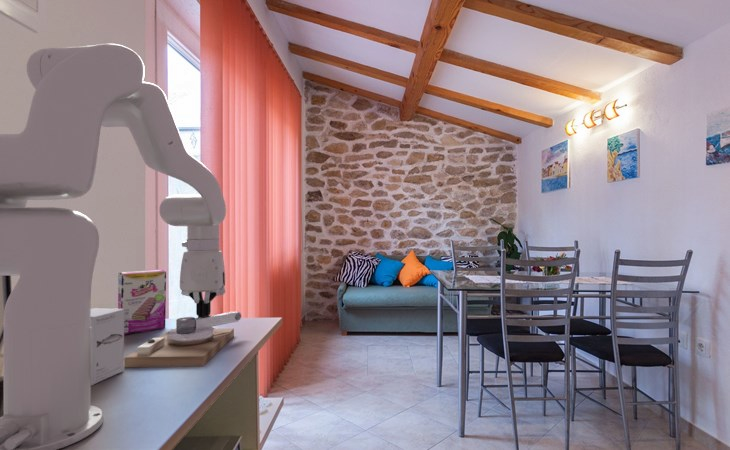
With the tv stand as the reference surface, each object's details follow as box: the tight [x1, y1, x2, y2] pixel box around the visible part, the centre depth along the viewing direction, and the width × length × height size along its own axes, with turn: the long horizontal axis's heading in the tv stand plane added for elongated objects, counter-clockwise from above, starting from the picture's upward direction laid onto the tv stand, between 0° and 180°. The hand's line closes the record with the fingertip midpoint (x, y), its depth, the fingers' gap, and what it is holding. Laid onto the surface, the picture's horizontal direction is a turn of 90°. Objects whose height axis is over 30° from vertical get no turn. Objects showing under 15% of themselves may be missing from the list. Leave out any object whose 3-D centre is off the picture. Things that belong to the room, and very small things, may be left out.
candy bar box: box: [117, 269, 167, 336], centre depth 110 cm, size 11×5×16 cm, turn 133°
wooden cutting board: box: [124, 328, 235, 368], centre depth 93 cm, size 22×16×4 cm
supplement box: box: [90, 307, 125, 386], centre depth 76 cm, size 7×7×13 cm
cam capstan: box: [167, 311, 242, 346], centre depth 96 cm, size 18×10×5 cm, turn 138°
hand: (203, 317), depth 101 cm, fingers closed
